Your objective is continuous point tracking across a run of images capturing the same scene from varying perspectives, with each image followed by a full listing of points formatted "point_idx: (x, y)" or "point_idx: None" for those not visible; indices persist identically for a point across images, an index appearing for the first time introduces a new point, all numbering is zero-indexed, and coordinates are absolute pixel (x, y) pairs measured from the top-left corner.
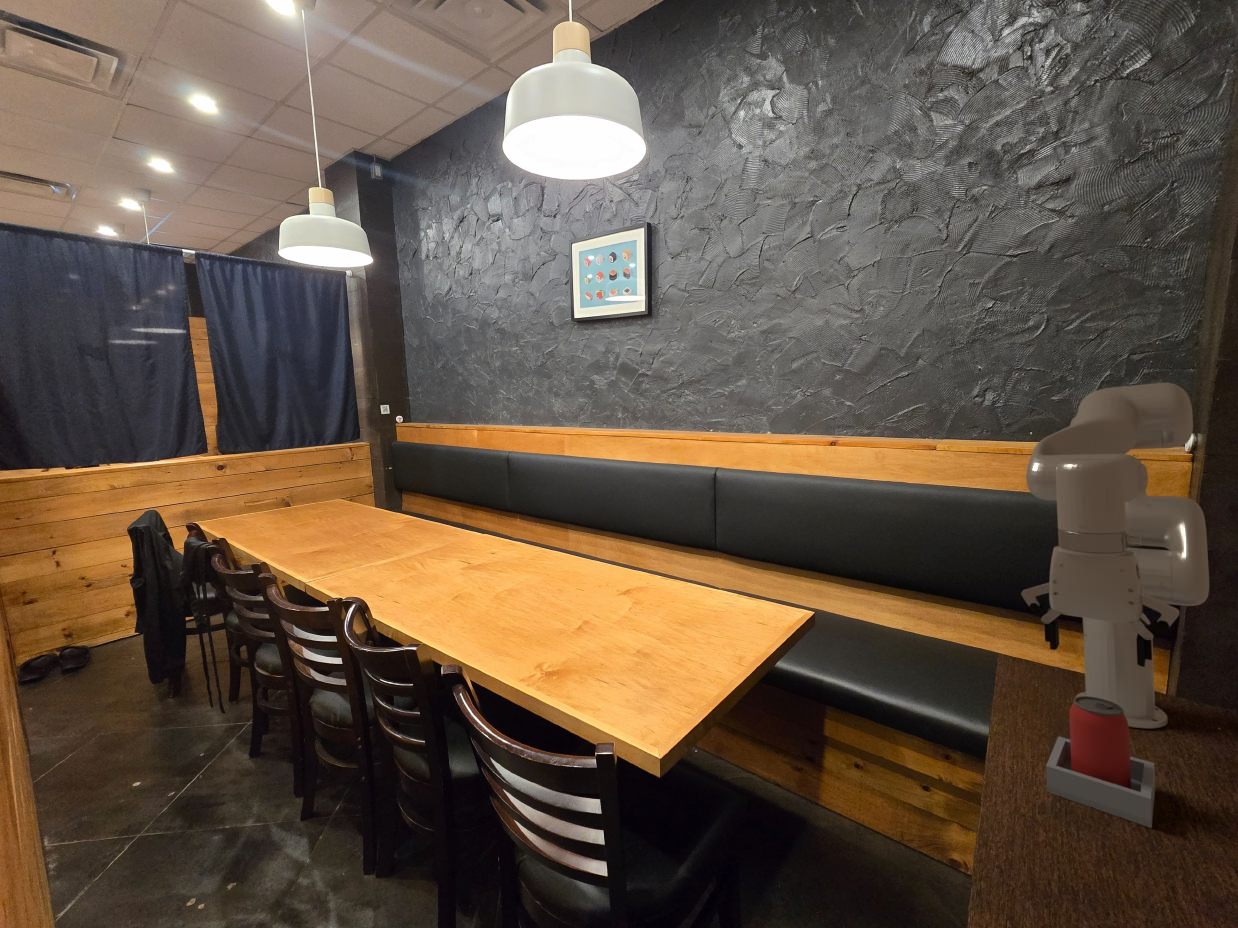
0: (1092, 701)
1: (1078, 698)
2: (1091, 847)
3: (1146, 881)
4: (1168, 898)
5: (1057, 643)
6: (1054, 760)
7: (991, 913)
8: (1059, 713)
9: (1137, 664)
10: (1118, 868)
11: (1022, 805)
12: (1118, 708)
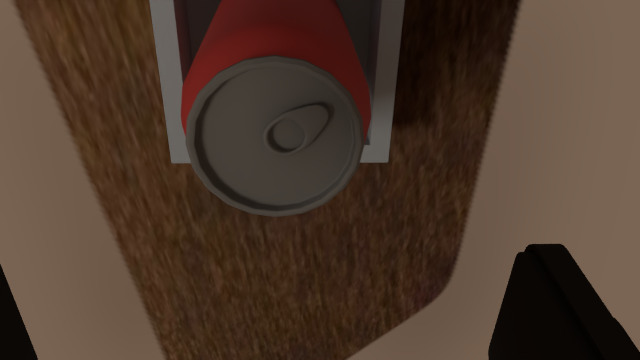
0: (250, 96)
1: (198, 113)
2: (288, 258)
3: (362, 285)
4: (386, 301)
5: (7, 344)
6: (179, 119)
7: None
8: None
9: (488, 355)
10: (327, 282)
11: (163, 213)
12: (345, 108)
